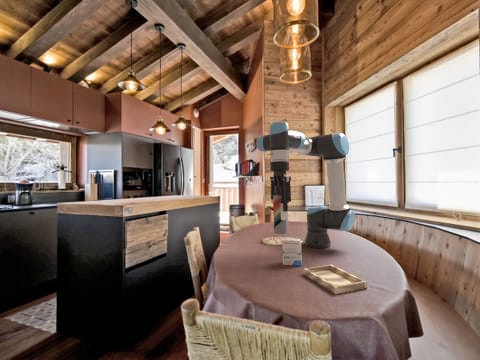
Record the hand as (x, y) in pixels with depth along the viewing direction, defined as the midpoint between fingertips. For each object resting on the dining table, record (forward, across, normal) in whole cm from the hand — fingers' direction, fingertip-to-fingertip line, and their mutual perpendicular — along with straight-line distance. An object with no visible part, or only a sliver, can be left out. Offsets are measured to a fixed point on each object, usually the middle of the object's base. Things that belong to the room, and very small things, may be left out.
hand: (280, 218), depth 103 cm
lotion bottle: (+6, 0, 0) cm, 6 cm away
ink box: (+25, -14, +13) cm, 31 cm away
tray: (+25, +9, +18) cm, 32 cm away
